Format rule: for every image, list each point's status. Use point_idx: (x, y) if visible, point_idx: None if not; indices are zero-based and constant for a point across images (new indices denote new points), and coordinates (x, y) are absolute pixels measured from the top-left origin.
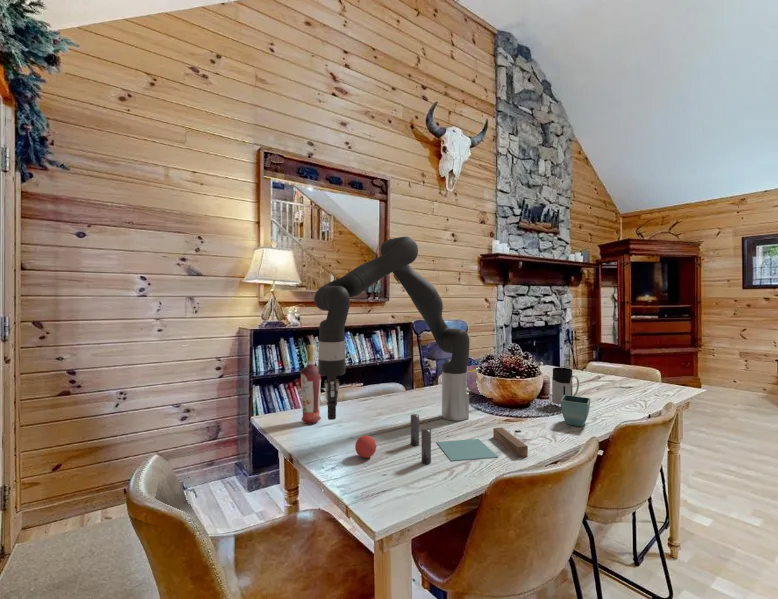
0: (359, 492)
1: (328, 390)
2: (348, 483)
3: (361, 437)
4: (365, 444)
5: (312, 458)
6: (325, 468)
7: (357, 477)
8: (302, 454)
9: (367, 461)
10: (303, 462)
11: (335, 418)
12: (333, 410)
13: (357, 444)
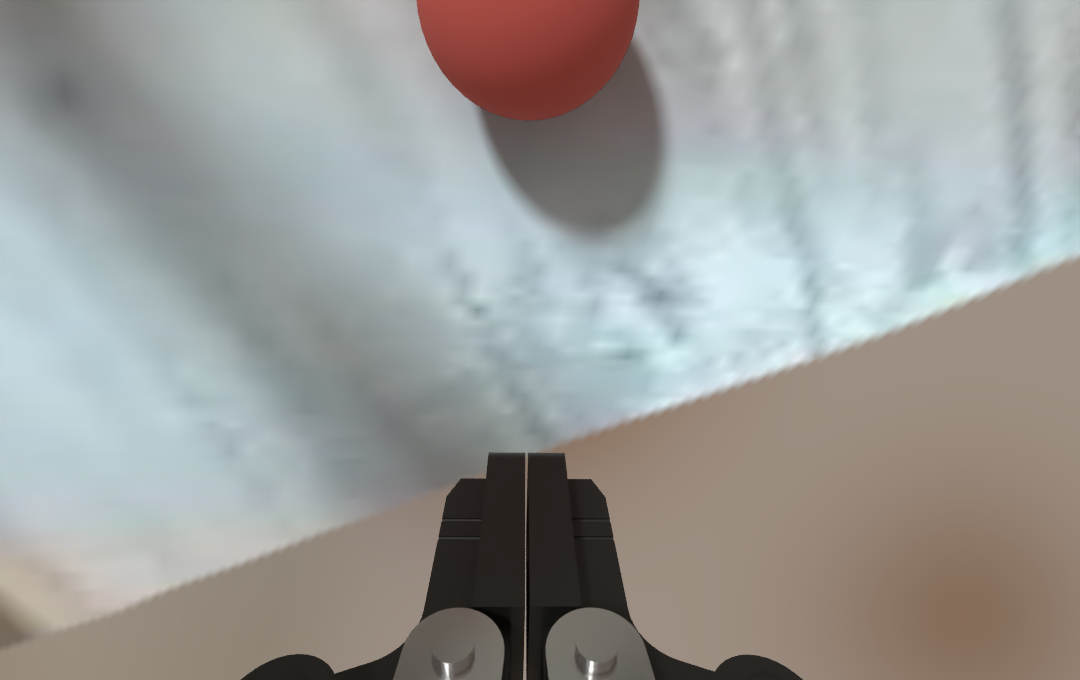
0: (1059, 156)
1: None
2: (911, 214)
3: (534, 44)
4: (630, 13)
5: (480, 411)
6: (650, 340)
7: (858, 143)
8: (407, 465)
9: None
10: None
11: (564, 455)
12: (618, 584)
13: (570, 103)
